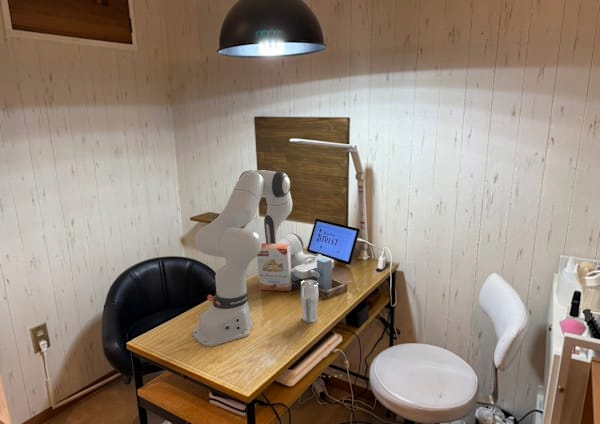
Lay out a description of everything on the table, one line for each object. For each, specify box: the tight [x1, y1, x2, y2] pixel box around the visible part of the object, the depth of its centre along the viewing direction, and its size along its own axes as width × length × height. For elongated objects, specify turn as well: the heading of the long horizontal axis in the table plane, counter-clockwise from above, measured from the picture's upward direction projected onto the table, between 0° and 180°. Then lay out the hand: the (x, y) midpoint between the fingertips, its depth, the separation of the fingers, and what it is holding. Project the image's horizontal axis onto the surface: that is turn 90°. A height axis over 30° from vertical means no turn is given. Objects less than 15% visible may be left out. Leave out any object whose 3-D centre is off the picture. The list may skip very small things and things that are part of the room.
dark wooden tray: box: [318, 277, 348, 300], centre depth 185 cm, size 12×15×3 cm
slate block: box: [316, 256, 333, 291], centre depth 184 cm, size 5×5×14 cm
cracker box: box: [256, 242, 293, 292], centre depth 184 cm, size 14×6×21 cm, turn 80°
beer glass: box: [299, 280, 320, 323], centre depth 158 cm, size 7×7×15 cm
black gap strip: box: [290, 276, 317, 290], centre depth 192 cm, size 16×5×1 cm, turn 129°
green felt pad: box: [291, 272, 301, 283], centre depth 201 cm, size 11×11×1 cm
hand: (325, 272), depth 183 cm, fingers open, 5 cm apart
